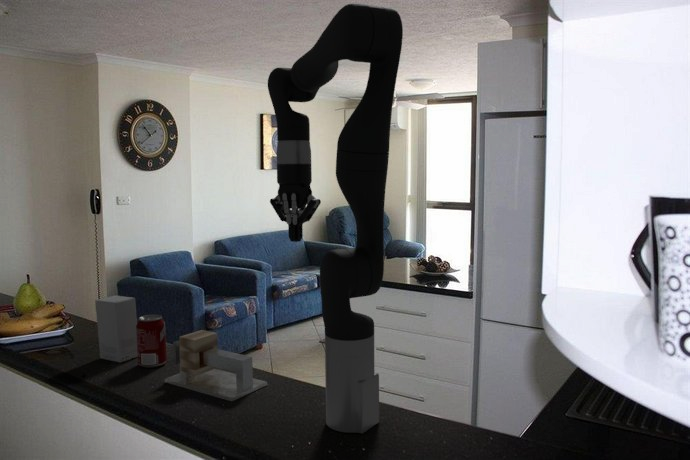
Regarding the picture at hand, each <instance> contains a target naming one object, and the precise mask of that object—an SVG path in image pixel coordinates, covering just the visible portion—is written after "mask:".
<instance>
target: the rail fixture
mask: <svg viewBox="0 0 690 460" xmlns="http://www.w3.org/2000/svg"><path fill="white" fill-rule="evenodd" d="M172 350H173V364H175V365H178V364H180V344H179V340H176V341H173V342H172ZM199 362H200V364H203V365H207V366H211V367H215V369H212V370H210V371H207V372H204V373H202V374H199V375H197V376H195V375H191V374H187V373H184V372H181V368H180V367H179V373H177V374H174V375H172V376H168V377H165V378H164V383H166V384H170V385H173V386H177V387H180V388H184V389H187V390H190V391H193V392H194V391H195V392H197V393H201V394H204V395H208V396H212V397H215V398H219V399H222V400H226V401H228V402H234V401H236V400H238V399H241V398H243V397H245V396H247V395H249V394H251V393H253V392H255V391H258V390H260V389H263V388H264V387H266V386H268V381H266V380H261V379H257V378H254V374H253V373H254V370H253V356H249V355H246V354H241V353H236V352H232V351H227V350H223V349H219V348H218V349H215V348H209V349H206V350H204V351H201V352H199Z"/></svg>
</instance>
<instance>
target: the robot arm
mask: <svg viewBox="0 0 690 460" xmlns="http://www.w3.org/2000/svg"><path fill="white" fill-rule="evenodd" d="M403 31H404V29H403V20H402V18H401V15H400V14H399V12H398V11H397V10H396V9H393V8H391V7H385V6H378V5H372V4H365V3H357V2H356V3H354V2H353V3H348V4H345V5H344V6H343V7H341V8H340V9H339V10H338V11H337V12H336V13H335V15H334V16H333V18H331V20H330V21H329V23H328V25H327V26H326V27H325V29H324V30H323V32H321V35H320V36H319V37H318V39H317V40H316V42H315V44H313V46H312V47H311V48H310V49H309V50H308V51H306V53H304V54H303V55H302V56H301V57H299V58H298V59H297V60H295V62H294V63H293V64H292V66H291V67H276V68H274V69H272V70H271V72H270V73H269V75H268V79H267V91H268V94H269V95H268V96H269V98H270V101H271V103H272V107H273V111H274V115H275V119H276V129H277V130H276V131H277V133H276V134H277V136H276V138H277V139H276V140H277V142H276V143H277V145H276V183H277V184H278V185H279V186H278V189H277V194H276V196H275V197H274V198H270V199H269V203H270V205H271V207H272V208H273V210H274V211H275V213H276V215H277V216H278V218H279V220H280V221H281V222H285V223H286V224H287V225H288V239H289V240H290V242H295V243H297V242H298V243H299V242H301V241H302V239H303V236H304V235H303V224H305V223H307V222H310V220H311V219H312V218H313V216H314V214H315V213H316V211H317V210H318V208H319V206H320V205H321V202H322V201H321V199H320V198H316V197H315V196H314V195H313V191H312V188H311V183H312V149H311V138H310V137H311V132H310V131H311V130H310V129H311V128H310V127H311V126H310V119H309V116H308V115H307V114H305V113H301V112H297V111H295V110H294V109H293V108H292V107H291V105H290V102H291V103H307V102H312V101H313V100H314V99H315V98H316V96H317V93H318V91H319V90H320V88H322V87H323V86H325V85H326V84H328V83H330V82H331V81H332V80H333V79H334V77H335V76H336V74H337V72H338V69H339V61H342V60H347V61H350V62H356V63H366V64H369V73H368V77H367V84H366V88H365V90H364V92H363V95H362V97H361V100H360V101H359V103H358V105H357V106H356V108H355V109H354V110H353V112H352V113H351V115H350V116H349V118H348V119H347V121H346V122H345V124H344V126H343V128H342V129H341V131H340V133H339V135H338V139H337V143H336V144H337V145H336V159H335V178H336V181H337V184H338V186H339V189H340V191H341V194H342V195H343V197H344V198H345V201H346V202H347V204H348V206H349V209H350V210H351V212H352V214H353V216H354V220H355V227H356V228H355V229H356V243H355V247H347V248H335V249H329V250H328V251H326V252H325V253H324V254H323V256H322V257H321V259H320V264H319V285H320V299H321V301H320V302H321V316H322V321H323V325H324V360H325V361H324V364H325V365H324V369H325V372H324V373H325V379H324V380H325V381H324V382H325V423H326V424H325V425H326V426H327V427H328V428H329V429H331V430H334V431H335V432H336V431H337V432H340V433H348V434H349V433H359V434H365V432H367V431H369V430H370V429H371V428H373V427H374V426H376V425H377V424H379V422H380V375H379V373H377V372H375V322H374V319H373V318H372V317H370V316H369V315H367V314H363V313H360V312H356V311H353V310H352V307H351V300H350V299H355V298H362V297H368V296H373V295H375V294H376V293H378V291H379V290H380V289H381V286H382V283H383V280H384V279H383V278H384V272H385V270H384V269H385V268H384V267H385V251H384V250H385V247H384V245H385V242H384V239H385V238H384V236H385V234H384V222H385V221H384V220H385V219H384V217H385V215H384V214H385V200H386V199H385V198H386V186H387V176H388V169H389V158H390V157H389V155H390V140H391V138H390V135H391V124H392V123H391V122H392V113H393V103H394V96H395V90H396V89H395V88H396V83H397V76H398V72H399V66H400V65H399V64H400V61H401V60H400V59H401V53H402V47H403V39H404V38H403V36H404V33H403Z"/></svg>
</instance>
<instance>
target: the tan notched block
mask: <svg viewBox="0 0 690 460" xmlns="http://www.w3.org/2000/svg"><path fill="white" fill-rule="evenodd" d="M178 339H179V340H178V341H179V344H180V363H179V369H180V368H181V372H184V373H187V374H191V375H195V376H197V375H199V374H202V373H204V372H207V371H210V370H212V369H216V368H215V367H211V366H207V365H203V364H200V362H199V352H201V351H204V350H206V349H209V348H215V349H219V346H218V343H219V342H218V332H213V331H209V330H204V329H200V330H198V331H194V332H193V331H192V332H191V333H187V334H184V335H180V336H179V337H178Z"/></svg>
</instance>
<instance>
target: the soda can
mask: <svg viewBox="0 0 690 460" xmlns="http://www.w3.org/2000/svg"><path fill="white" fill-rule="evenodd" d="M136 331H137V352H138V357H137V364H138V365H139V366H141V367H142V368H144V367H145V369H154V368H159V367H161V366H163V365H164V364H165V363H167V360H168V359H167V358H168V357H167V356H168V355H167V339H166V338H167V334H166V322H165V321H164V319H163V315H161V314H146V315H142V316H140V317H138V321H137V325H136Z"/></svg>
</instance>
